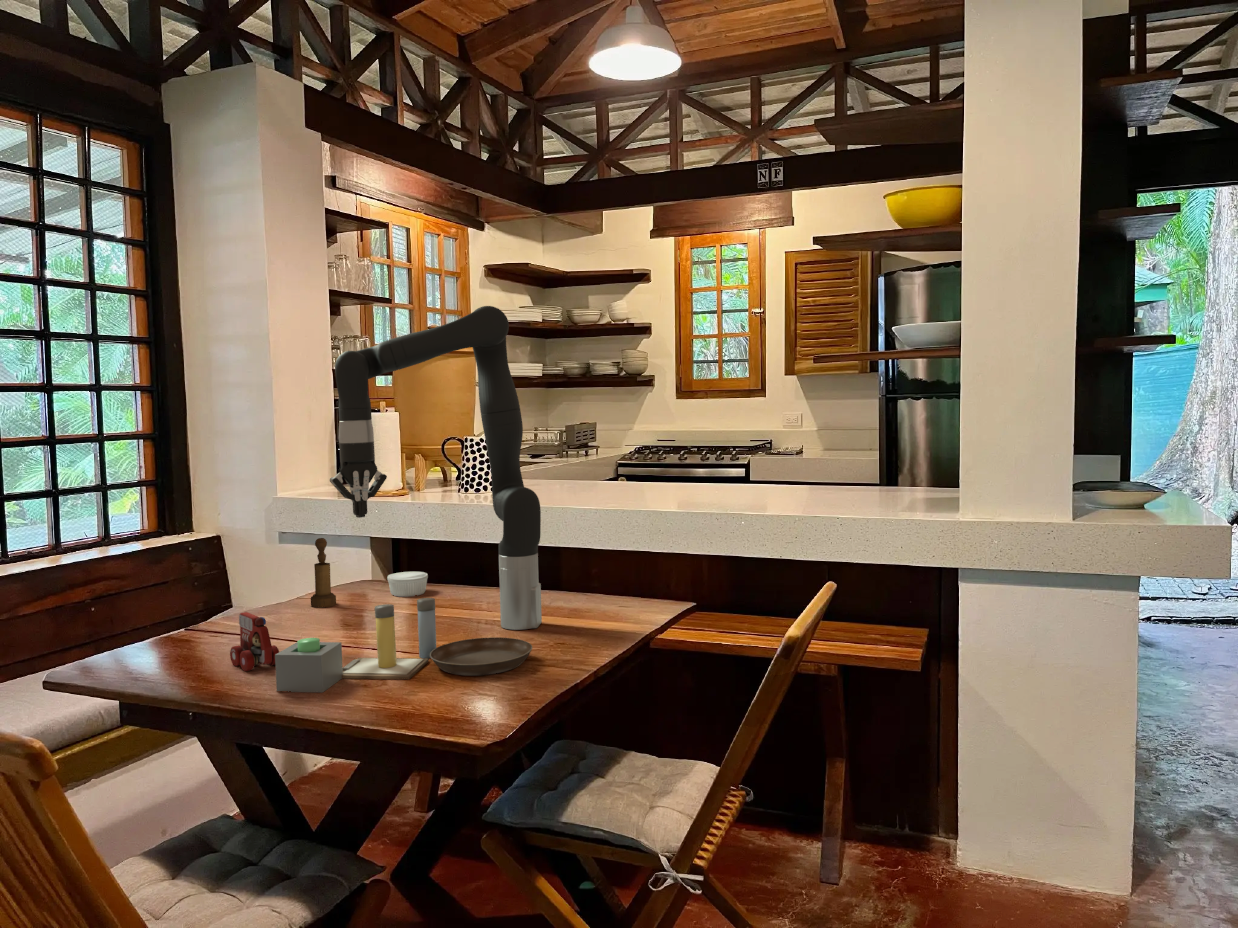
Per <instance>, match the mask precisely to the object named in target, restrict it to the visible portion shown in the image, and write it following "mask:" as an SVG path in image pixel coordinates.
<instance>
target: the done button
mask: <svg viewBox="0 0 1238 928" xmlns="http://www.w3.org/2000/svg"><path fill="white" fill-rule="evenodd" d="M297 642H298V652H317V651H318V650H320V642H321V641H320V638H319V637H307V638H305V637H304V638H301V639H299V640H297Z"/></svg>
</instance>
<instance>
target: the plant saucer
mask: <svg viewBox="0 0 1238 928" xmlns="http://www.w3.org/2000/svg"><path fill="white" fill-rule="evenodd" d="M532 649H533V645H532V644H531V642H528V641H526V640H523V639H518V638H513V637H512V638H511V637H500V636H499V637H493V636H492V637H476V638H475V637H474V638H469V639H462V640H457V641H456V640H455V641H452V642H448V643H445V644H443V645H442V644H441V645H440V646H438V647H437V646H436V648H435V649H434V650H432V651H431V653H430V657H431V658H430V659H431V660H432V662H433V663H434V664H435V666H437V667H438V668H439V669H440V670H442V671H443V672H445V673H448V674H452V675H456V676H465V677H466V676H469V677H470V676H471V677H473V676H474V677H476V676H477V677H478V676H479V677H480V676H488V675H496V673H497V674H500V673H505V672H509V671H511V670H513V669H516V668H517V667H519V666H520V665H522V664H523V663H524V662H525V660H527V659H528V657H529V656H530V654H531V652H532Z"/></svg>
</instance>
